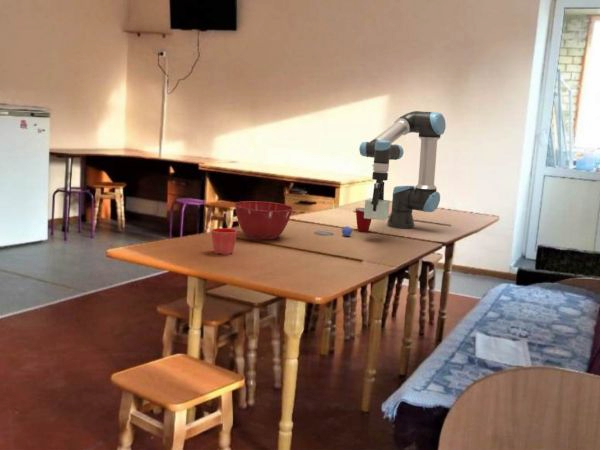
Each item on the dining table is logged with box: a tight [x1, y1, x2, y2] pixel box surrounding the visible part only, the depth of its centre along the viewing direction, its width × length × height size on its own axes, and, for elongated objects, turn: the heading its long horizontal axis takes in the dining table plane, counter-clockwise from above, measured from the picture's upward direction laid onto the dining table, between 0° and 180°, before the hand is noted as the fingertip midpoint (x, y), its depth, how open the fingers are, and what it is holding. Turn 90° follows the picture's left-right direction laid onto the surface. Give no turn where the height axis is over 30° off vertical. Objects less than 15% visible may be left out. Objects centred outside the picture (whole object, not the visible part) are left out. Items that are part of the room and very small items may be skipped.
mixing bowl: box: [233, 200, 294, 240], centre depth 330 cm, size 28×28×16 cm
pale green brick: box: [364, 198, 391, 221], centre depth 341 cm, size 10×10×9 cm
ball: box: [341, 225, 353, 237], centre depth 347 cm, size 5×5×5 cm
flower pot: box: [210, 227, 238, 255], centre depth 290 cm, size 11×11×10 cm
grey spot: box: [313, 230, 334, 236], centre depth 351 cm, size 10×10×1 cm
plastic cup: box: [354, 206, 373, 233], centre depth 365 cm, size 11×11×12 cm
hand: (376, 216), depth 341 cm, fingers closed on pale green brick, 10 cm apart
